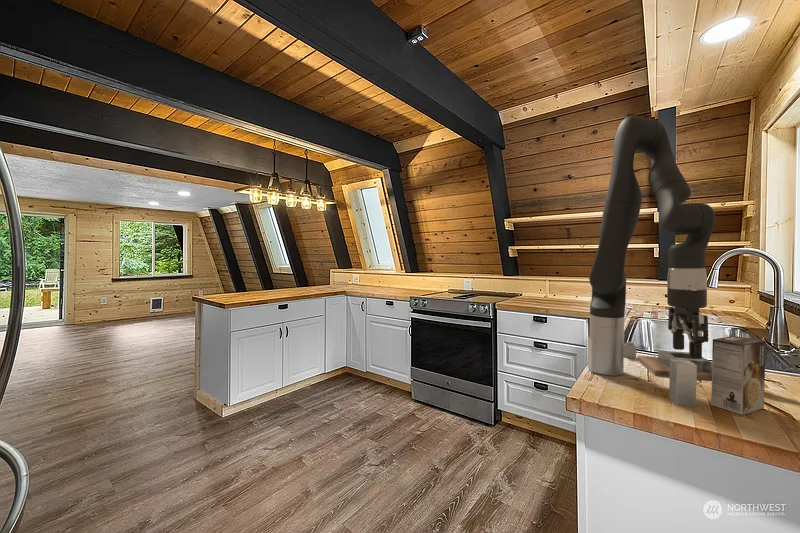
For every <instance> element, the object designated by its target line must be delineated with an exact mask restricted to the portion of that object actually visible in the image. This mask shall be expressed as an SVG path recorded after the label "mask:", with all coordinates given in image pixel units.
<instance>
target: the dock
mask: <svg viewBox="0 0 800 533" xmlns="http://www.w3.org/2000/svg"><path fill="white" fill-rule="evenodd" d="M657 352H658V353H657V356H647V355H645V356H644V355H636V359H637V361H638V363H640V364H642V366H644V367H645V368H646V369H647V371H650V372H651V373H652V374H653V375H654V376H657V377H658V376H660V377H670V359H676V360H689V361H691V362H693V363H694V364H696V365H697V380H707V381H712V360H708V359H707V358H705V357H703V356H702V358H701V359H692V358H690V357H689V351H677V350H676V351H675V350H674V351H671V350H660V349H659V350H658V351H657Z"/></svg>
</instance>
